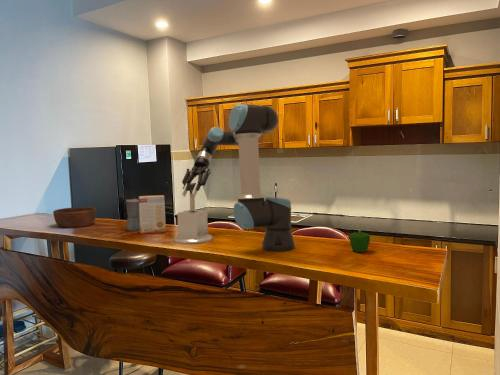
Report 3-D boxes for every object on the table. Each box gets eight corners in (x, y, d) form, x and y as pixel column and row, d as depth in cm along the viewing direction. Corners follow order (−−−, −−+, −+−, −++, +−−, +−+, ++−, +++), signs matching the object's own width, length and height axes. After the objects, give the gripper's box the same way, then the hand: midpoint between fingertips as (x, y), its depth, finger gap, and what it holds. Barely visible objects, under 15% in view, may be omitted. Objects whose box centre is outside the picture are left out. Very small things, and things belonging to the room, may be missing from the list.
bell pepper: (354, 248, 167) (354, 226, 166) (372, 250, 161) (372, 228, 161) (346, 251, 160) (346, 229, 159) (364, 254, 155) (364, 231, 154)
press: (219, 236, 195) (218, 209, 194) (201, 245, 176) (200, 215, 175) (185, 234, 202) (185, 208, 200) (165, 242, 183) (164, 213, 182)
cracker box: (165, 230, 213) (164, 194, 212) (165, 232, 208) (164, 195, 206) (140, 232, 210) (139, 195, 208) (140, 234, 204) (138, 196, 202)
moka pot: (141, 231, 212) (140, 197, 210) (117, 230, 215) (115, 196, 213) (149, 228, 221) (147, 195, 219) (125, 227, 224) (124, 195, 222)
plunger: (204, 224, 191) (203, 182, 189) (196, 227, 183) (195, 184, 181) (189, 223, 194) (188, 182, 192) (181, 226, 186) (180, 183, 184)
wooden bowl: (75, 221, 251) (74, 206, 251) (105, 222, 244) (104, 207, 243) (44, 228, 228) (43, 211, 227) (76, 229, 220) (76, 212, 219)
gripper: (220, 166, 197) (207, 200, 183) (190, 166, 203) (175, 199, 189) (215, 156, 192) (202, 190, 178) (185, 156, 198) (169, 189, 184)
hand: (188, 194), depth 183 cm, fingers closed on plunger, 5 cm apart
